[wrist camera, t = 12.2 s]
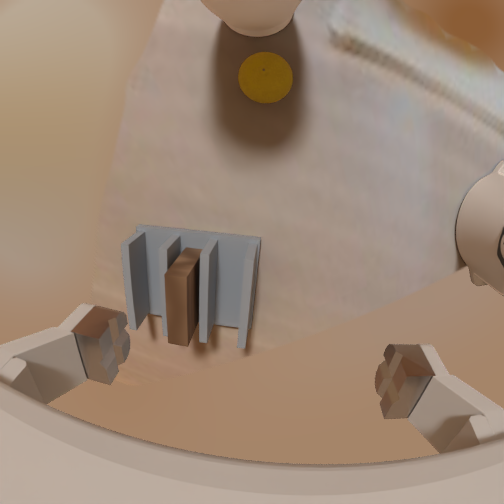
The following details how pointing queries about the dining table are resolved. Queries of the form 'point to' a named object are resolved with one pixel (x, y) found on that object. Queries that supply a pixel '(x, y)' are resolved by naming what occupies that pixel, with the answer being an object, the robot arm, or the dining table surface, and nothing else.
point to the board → (183, 296)
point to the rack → (211, 276)
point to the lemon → (265, 77)
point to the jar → (254, 15)
